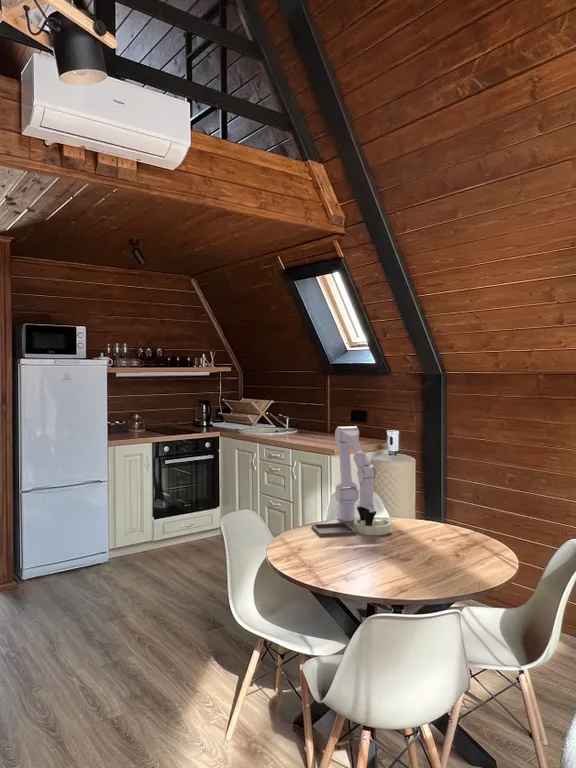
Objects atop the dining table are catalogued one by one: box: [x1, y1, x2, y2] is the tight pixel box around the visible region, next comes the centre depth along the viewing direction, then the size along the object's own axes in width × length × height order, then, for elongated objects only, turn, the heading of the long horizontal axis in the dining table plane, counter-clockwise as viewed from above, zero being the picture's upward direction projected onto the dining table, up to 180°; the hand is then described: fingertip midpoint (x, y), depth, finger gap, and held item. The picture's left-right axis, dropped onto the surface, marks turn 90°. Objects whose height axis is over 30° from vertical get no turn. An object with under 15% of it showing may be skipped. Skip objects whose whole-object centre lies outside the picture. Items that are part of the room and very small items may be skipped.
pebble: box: [373, 519, 384, 526], centre depth 249 cm, size 4×4×4 cm
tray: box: [311, 521, 357, 538], centre depth 247 cm, size 15×16×2 cm
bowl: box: [353, 517, 392, 536], centre depth 249 cm, size 16×16×4 cm
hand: (366, 525), depth 248 cm, fingers open, 6 cm apart
